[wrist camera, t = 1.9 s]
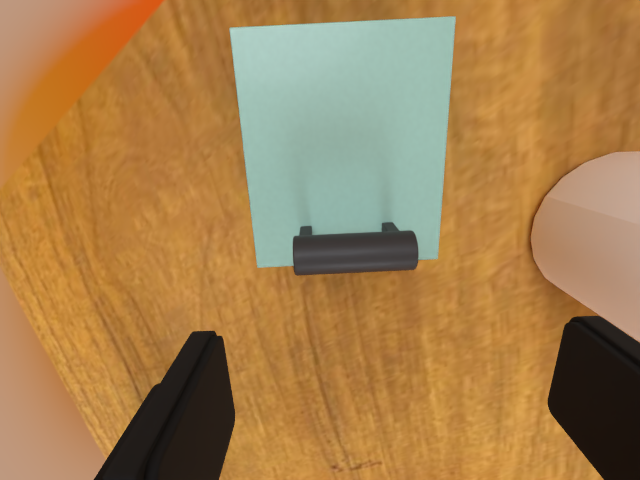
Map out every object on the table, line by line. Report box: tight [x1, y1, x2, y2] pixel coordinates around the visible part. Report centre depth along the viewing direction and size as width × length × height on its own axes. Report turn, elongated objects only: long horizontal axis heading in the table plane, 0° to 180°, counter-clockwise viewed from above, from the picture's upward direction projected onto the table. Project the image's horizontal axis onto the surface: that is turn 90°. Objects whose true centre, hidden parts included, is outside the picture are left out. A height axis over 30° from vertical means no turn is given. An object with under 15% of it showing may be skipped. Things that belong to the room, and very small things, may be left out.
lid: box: [230, 16, 456, 275], centre depth 17 cm, size 13×12×6 cm
